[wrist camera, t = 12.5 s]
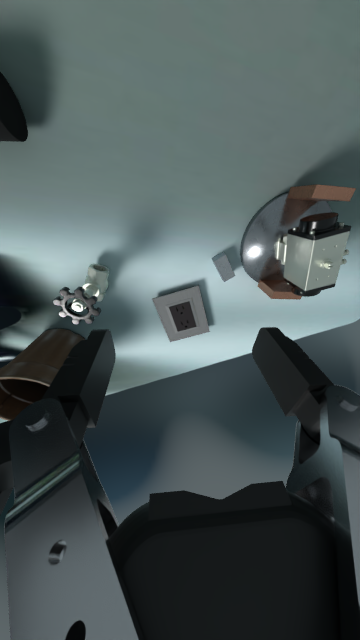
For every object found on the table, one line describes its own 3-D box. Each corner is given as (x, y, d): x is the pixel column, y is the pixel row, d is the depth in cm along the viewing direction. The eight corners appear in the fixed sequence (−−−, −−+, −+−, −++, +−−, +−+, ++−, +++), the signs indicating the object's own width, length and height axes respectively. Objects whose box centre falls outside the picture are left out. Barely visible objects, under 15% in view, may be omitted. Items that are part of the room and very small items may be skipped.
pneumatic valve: (270, 277, 38) (307, 305, 28) (273, 217, 31) (323, 225, 21) (296, 271, 37) (343, 296, 28) (304, 208, 31) (371, 211, 21)
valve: (119, 270, 36) (102, 296, 26) (113, 297, 39) (96, 329, 29) (85, 258, 34) (53, 281, 24) (81, 287, 38) (52, 318, 28)
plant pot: (109, 360, 50) (89, 417, 37) (57, 372, 51) (20, 432, 38) (78, 314, 41) (36, 368, 28) (15, 329, 42) (-53, 389, 29)
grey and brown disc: (255, 185, 30) (279, 180, 23) (345, 193, 31) (390, 191, 25) (231, 282, 39) (244, 297, 33) (301, 285, 41) (325, 300, 35)
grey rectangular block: (211, 258, 36) (214, 261, 34) (222, 251, 36) (225, 254, 34) (221, 277, 39) (224, 282, 37) (231, 271, 38) (235, 275, 36)
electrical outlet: (207, 326, 47) (209, 332, 45) (170, 336, 48) (170, 342, 46) (197, 282, 39) (199, 286, 37) (152, 295, 40) (152, 299, 38)
